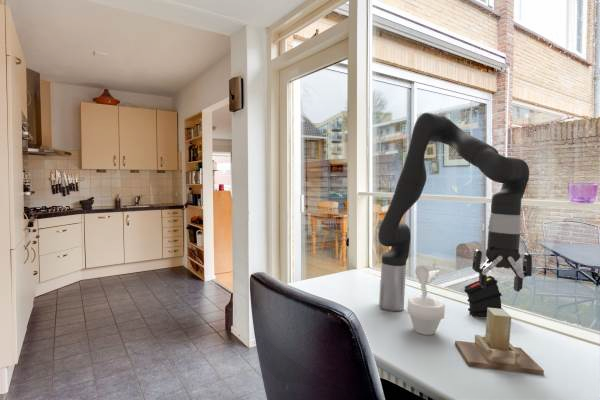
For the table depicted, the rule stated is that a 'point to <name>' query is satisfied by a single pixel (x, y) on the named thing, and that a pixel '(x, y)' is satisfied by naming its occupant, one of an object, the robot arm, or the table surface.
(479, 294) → the magazine
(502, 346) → the skincare box
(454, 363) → the table surface
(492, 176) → the robot arm
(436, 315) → the potted plant
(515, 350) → the socket board
